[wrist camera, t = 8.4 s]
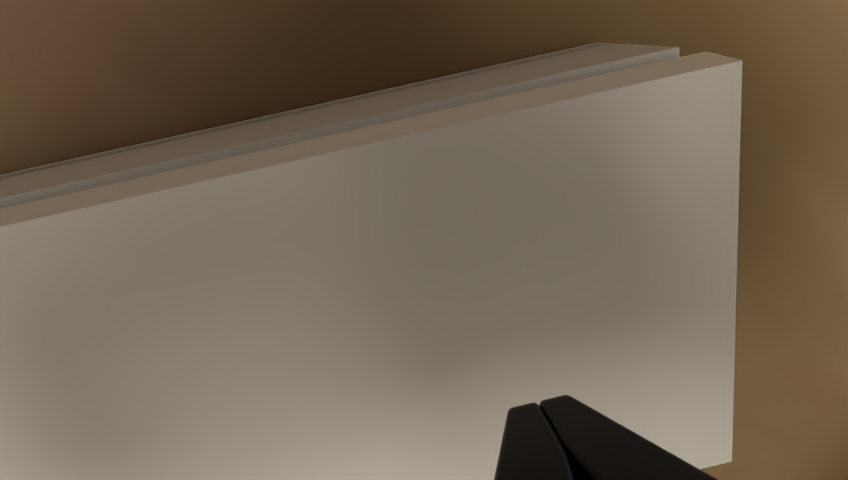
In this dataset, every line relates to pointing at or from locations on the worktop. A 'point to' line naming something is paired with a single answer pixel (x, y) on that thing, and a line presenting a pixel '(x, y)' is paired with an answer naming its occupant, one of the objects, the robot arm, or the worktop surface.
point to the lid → (387, 292)
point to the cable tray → (324, 119)
